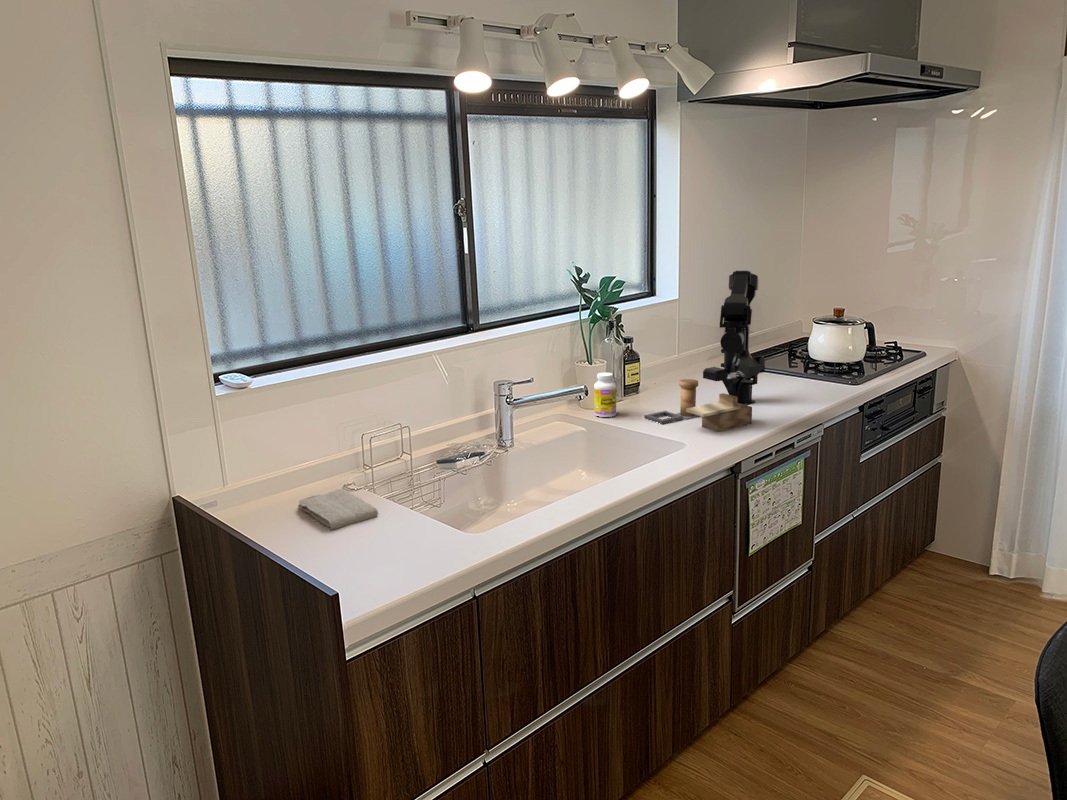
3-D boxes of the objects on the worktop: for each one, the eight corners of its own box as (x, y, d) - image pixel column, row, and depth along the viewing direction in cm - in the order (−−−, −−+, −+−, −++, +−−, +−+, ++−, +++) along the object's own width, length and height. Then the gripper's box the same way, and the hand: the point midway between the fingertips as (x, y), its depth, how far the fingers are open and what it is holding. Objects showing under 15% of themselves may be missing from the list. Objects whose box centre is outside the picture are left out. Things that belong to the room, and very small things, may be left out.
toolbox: (735, 418, 243) (736, 402, 241) (751, 423, 237) (752, 406, 236) (701, 426, 236) (702, 409, 235) (717, 431, 231) (717, 414, 230)
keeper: (665, 413, 251) (665, 410, 250) (682, 419, 244) (682, 416, 244) (644, 418, 247) (644, 415, 246) (661, 424, 240) (661, 421, 240)
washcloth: (342, 496, 194) (341, 484, 193) (381, 517, 181) (380, 504, 180) (294, 510, 187) (293, 497, 186) (331, 533, 173) (329, 519, 173)
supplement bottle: (598, 419, 248) (598, 377, 244) (591, 413, 254) (590, 372, 251) (619, 416, 249) (619, 375, 246) (611, 411, 256) (611, 370, 252)
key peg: (688, 410, 251) (689, 378, 249) (701, 415, 247) (702, 381, 244) (674, 414, 249) (675, 381, 246) (687, 418, 244) (688, 384, 241)
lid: (722, 403, 239) (722, 392, 238) (740, 408, 233) (740, 397, 232) (685, 411, 232) (685, 400, 232) (703, 416, 226) (703, 405, 226)
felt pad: (688, 411, 252) (688, 410, 252) (702, 416, 247) (702, 415, 247) (673, 415, 249) (673, 414, 249) (686, 419, 244) (686, 418, 244)
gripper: (730, 354, 221) (729, 411, 225) (780, 345, 230) (778, 400, 234) (701, 348, 230) (701, 403, 234) (750, 340, 239) (749, 392, 243)
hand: (733, 399), depth 236 cm, fingers closed
